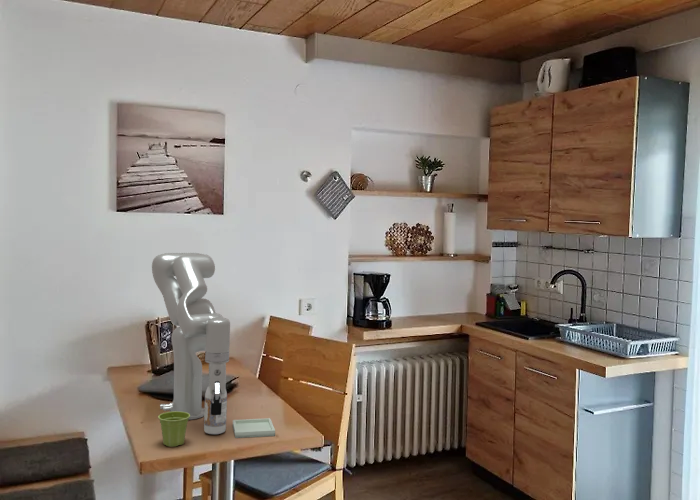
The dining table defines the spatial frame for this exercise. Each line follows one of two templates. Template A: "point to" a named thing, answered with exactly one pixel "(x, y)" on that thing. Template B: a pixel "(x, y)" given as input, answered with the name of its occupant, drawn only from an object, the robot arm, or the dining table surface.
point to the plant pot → (173, 427)
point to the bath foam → (214, 422)
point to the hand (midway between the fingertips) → (215, 410)
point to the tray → (253, 428)
